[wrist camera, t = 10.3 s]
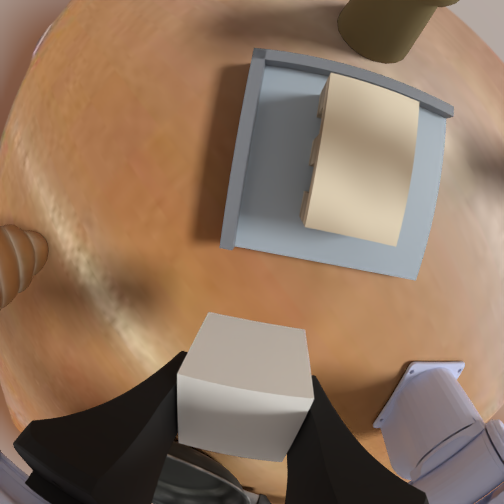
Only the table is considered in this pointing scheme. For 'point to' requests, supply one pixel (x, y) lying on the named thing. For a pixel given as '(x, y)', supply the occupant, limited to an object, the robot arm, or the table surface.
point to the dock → (299, 173)
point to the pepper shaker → (386, 26)
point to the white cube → (244, 388)
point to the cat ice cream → (19, 260)
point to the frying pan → (199, 481)
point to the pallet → (361, 161)
